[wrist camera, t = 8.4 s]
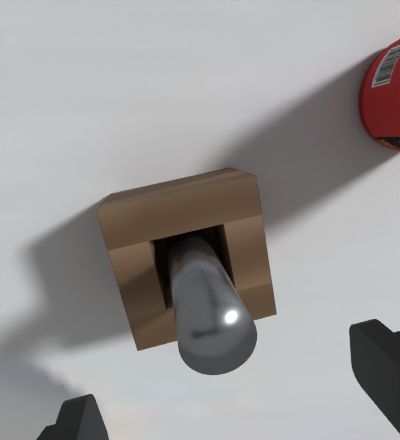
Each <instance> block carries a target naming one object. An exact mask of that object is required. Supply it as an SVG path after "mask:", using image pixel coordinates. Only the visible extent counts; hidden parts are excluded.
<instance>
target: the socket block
mask: <svg viewBox="0 0 400 440" xmlns="http://www.w3.org/2000/svg"><path fill="white" fill-rule="evenodd" d="M96 213H97V216H98V220H99V223H100V226H101V230H102V233H103V236H104V240H105V243H106V246H107V250H108V253H109V257H110V260H111V263H112V267H113V270H114V273H115V277H116V280H117V283H118V287H119V290H120V294H121V297H122V300H123V304H124V307H125V310H126V314H127V317H128V320H129V324H130V327H131V331H132V334H133V337H134V341H135V344H136V347H137V351H139V350H143V349H147V348H151V347H155V346H158V345H162V344H166V343H170V342H174V341H177V332H176V324H175V316H174V308H173V300H172V291H171V283H170V275H169V267H168V259H167V251H166V237H169V236H173V235H178V234H182V233H186V232H191V231H195V230H199V229H202V230H203V232H204V233H205V235H206V237H207V239H208V241H209V242H210V244H211V246H212V248H213V250H214V251H215V253H216V255H217V257H218V259H219V260H220V262H221V264H222V266H223V268H224V269H225V271H226V273H227V275H228V277H229V278H230V280H231V282H232V284H233V286H234V287H235V289H236V291H237V293H238V295H239V296H240V298H241V300H242V302H243V304H244V305H245V307H246V309H247V311H248V312H249V314H250V316H251V318H252V320H257V319H261V318H265V317H268V316H272V315H276V314H277V313H276V306H275V300H274V293H273V286H272V280H271V273H270V266H269V260H268V253H267V246H266V240H265V233H264V226H263V220H262V213H261V206H260V200H259V193H258V186H257V180H256V176H254V175H251V174H248V173H245V172H242V171H239V170H237V169H234V168H227V169H222V170H217V171H213V172H208V173H204V174H199V175H195V176H190V177H185V178H181V179H176V180H172V181H167V182H162V183H158V184H153V185H149V186H144V187H140V188H135V189H130V190H126V191H121V192H117V193H112V194H110V195H109V197H108V198H107V199H106V200H105V202H104V203H103V204H102V205H101V206H100V208H99V209H98V210H97V211H96Z"/></svg>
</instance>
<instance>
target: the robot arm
mask: <svg viewBox="0 0 400 440" xmlns="http://www.w3.org/2000/svg"><path fill="white" fill-rule="evenodd" d="M349 334H350V350H351V364H352V369H353V372H354V375H355V377H356V379H357V381H358V383H359V384H360V386H361V387H362V388H363V390H364V391H365V392H366V393H367V394H368V396H369V397H370V398H371V399H372V400H373V402H374V403H375V404H376V405H377V407H378V408H379V409H380V410H381V411H382V413H383V414H384V415H385V416H386V417H387V419H388V420H389V421H390V422H391V424H392V425H393V426H394V427H395V428H396V430H397V431H398V432H399V433H400V331H398V332H394V333H393V332H392V331H391V330H390V329H389V328H387V327H386V326H385V325H384V324H382V323H381V322H380V321H379V320H377V319H372V320H368V321H364V322H361V323H357V324H353V325H351V326H350V329H349ZM37 440H109V438H108V433H107V430H106V427H105V425H104V422H103V419H102V416H101V414H100V411H99V408H98V405H97V403H96V400H95V398H94V396H93V395H92V394H88V395H85V396H81V397H77V398H73V399H70V400H66V401H64V402H63V404H62V406H61V409H60V412H59V415H58V418H57V421H56V424H54V425H50V426H47V427H45V429H44V430H43V431H42V433H41V434H40V436H39V437H38V438H37Z"/></svg>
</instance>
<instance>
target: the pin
mask: <svg viewBox="0 0 400 440" xmlns="http://www.w3.org/2000/svg"><path fill="white" fill-rule="evenodd" d="M166 251H167V259H168V267H169V275H170V283H171V291H172V300H173V308H174V316H175V324H176V332H177V340H178V348H179V352H180V355H181V357H182V359H183V361H184V362H185V363H186V364H187V365H188V366H189V367H190V368H191V369H193V370H195V371H196V372H199V373H202V374H207V375H220V374H224V373H228V372H230V371H233V370H235V369H236V368H238V367H240V366H241V365H242V364H243V363H244V362H246V361H247V359H248V358H249V357H250V356H251V354H252V352H253V350H254V348H255V345H256V341H257V330H256V326H255V324H254V321H253V320H252V318H251V316H250V314H249V312H248V311H247V309H246V307H245V305H244V304H243V302H242V300H241V298H240V296H239V295H238V293H237V291H236V289H235V287H234V286H233V284H232V282H231V280H230V278H229V277H228V275H227V273H226V271H225V269H224V268H223V266H222V264H221V262H220V260H219V259H218V257H217V255H216V253H215V251H214V250H213V248H212V246H211V244H210V242H209V241H208V239H207V237H206V235H205V233H204V232H203V230H202V229H199V230H195V231H191V232H186V233H182V234H178V235H173V236H169V237H166Z"/></svg>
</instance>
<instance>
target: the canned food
mask: <svg viewBox="0 0 400 440" xmlns="http://www.w3.org/2000/svg"><path fill="white" fill-rule="evenodd" d="M359 111H360V117H361V120H362V123H363V126H364V127H365V129H366V131H367V132H368V134H369V135H370V136H371V137H372V138H373V139H374V140H376V141H377V142H379V143H380V144H382V145H384V146H386V147H388V148H391V149H394V150H400V39H399V40H398V41H396V42H394V43H393V44H391V45H390V46H389V47H388V48H386V49H385V50H384V51H383V52H382V53H381V54H380V55H379V56H378V57H377V58H376V59H375V60H374V61H373V63H372V64H371V65H370V67H369V69H368V70H367V72H366V74H365V76H364V79H363V82H362V85H361V89H360V94H359Z"/></svg>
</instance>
